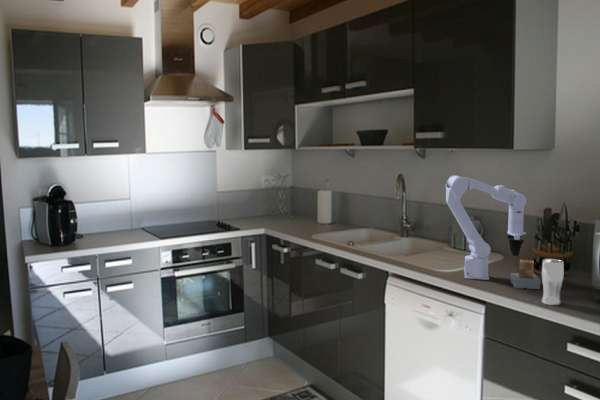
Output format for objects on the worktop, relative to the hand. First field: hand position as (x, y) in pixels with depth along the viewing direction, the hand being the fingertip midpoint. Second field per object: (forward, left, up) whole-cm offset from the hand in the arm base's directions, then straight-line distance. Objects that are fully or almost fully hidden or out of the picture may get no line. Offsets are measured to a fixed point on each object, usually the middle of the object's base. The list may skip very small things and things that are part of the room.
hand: (514, 253), depth 213 cm
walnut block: (+3, -12, -6) cm, 14 cm away
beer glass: (+9, -33, -10) cm, 36 cm away
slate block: (+3, -12, -10) cm, 16 cm away
